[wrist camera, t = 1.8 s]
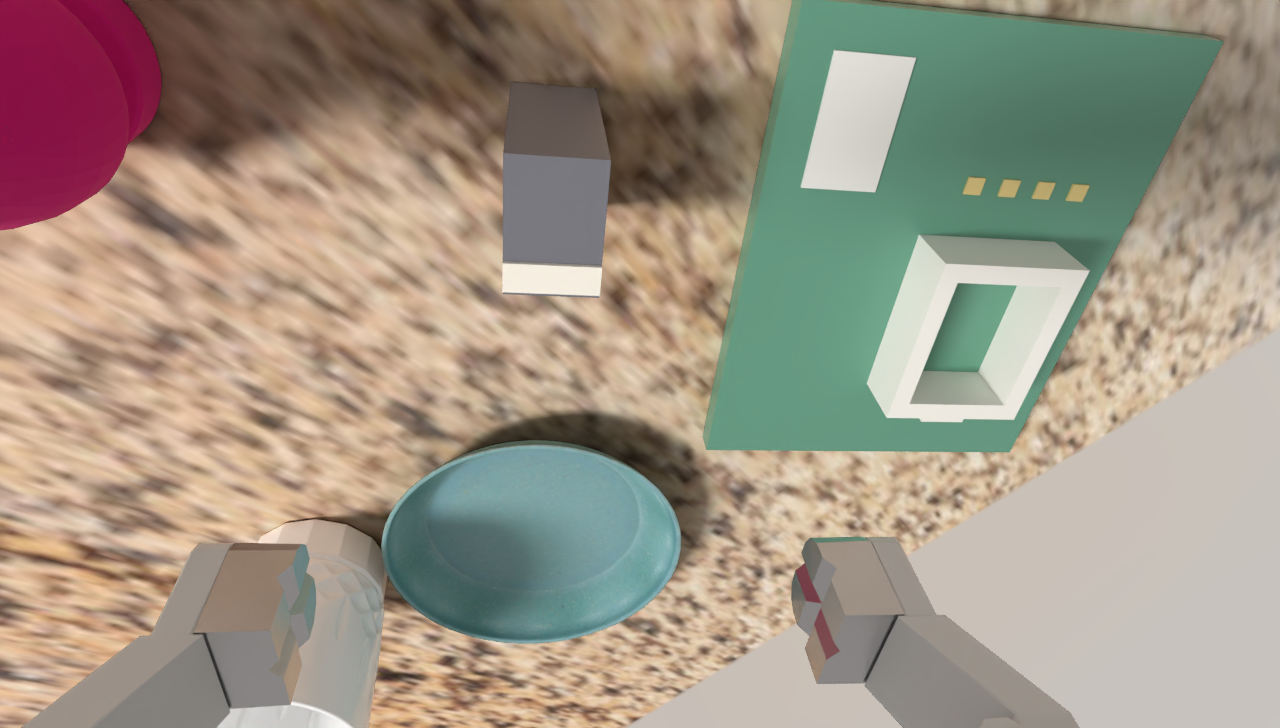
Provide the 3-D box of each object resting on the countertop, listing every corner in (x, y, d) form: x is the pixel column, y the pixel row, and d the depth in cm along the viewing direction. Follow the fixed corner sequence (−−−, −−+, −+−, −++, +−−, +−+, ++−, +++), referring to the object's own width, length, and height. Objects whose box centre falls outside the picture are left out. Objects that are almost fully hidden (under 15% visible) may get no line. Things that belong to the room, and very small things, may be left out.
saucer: (382, 400, 34) (372, 439, 32) (697, 414, 37) (707, 451, 35) (395, 605, 43) (387, 647, 41) (651, 605, 45) (657, 644, 43)
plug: (511, 81, 27) (503, 154, 21) (596, 88, 27) (611, 162, 21) (509, 201, 29) (502, 296, 23) (587, 206, 30) (599, 300, 24)
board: (794, -8, 26) (825, 13, 23) (1204, 34, 28) (1278, 59, 25) (702, 436, 37) (716, 486, 34) (1000, 439, 40) (1035, 486, 37)
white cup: (426, 585, 42) (399, 769, 33) (295, 624, 42) (238, 814, 34) (351, 490, 37) (299, 679, 29) (206, 536, 38) (116, 732, 30)
